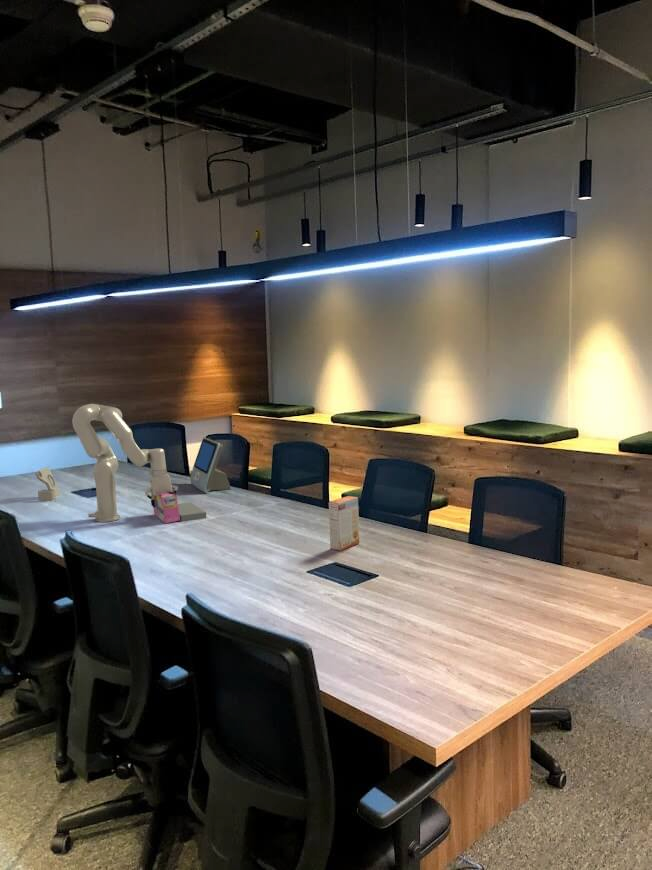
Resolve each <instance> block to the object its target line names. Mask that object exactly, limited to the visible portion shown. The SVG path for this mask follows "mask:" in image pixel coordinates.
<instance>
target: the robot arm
mask: <svg viewBox="0 0 652 870" xmlns="http://www.w3.org/2000/svg"><path fill="white" fill-rule="evenodd" d="M71 420H72V427H73V430H74V431H75V433H76V435H77V437H78V439H79V441H80V444H81V446H82V447H83V449H84V451H85V453H86V454H87V456H88V457H89V458H91V459H96V463H94V466H93V475H94V482H95V493H96V507H97V510H96V511H95V512H93V513H88V514H87V515H88V518H94V520H95V522H100V523H106V522H107V523H108V522H109V523H110V522H115V521H119V520H120V519H121V515H120V514H118V508H117V507H118V506H117V504H118V503H117V491H116V481H115V476H114V474H115V473H116V472H117V471H118V470H119V467H120V466H119V461H118V459H117V457H116V454H115V453H114V450H113V449H112V447H111V445H110V443H109V442H108V441H107V440H106V439H105V438H103V437H99V435H97V433H96V431H95V429H94V428H93V426H92V425H91V422H92V421H97V422H102V423H103V424H104V426H105V427H106V428H107V429H108V431H110V432H111V434H112V435H113V436H114V438H115V439H116V440H117V442H118V444H119V446H120V447H121V449H122V451H123V453H124V454H125V456H126V457H127V458H128V459H129V461H130V462H131V463H132V464H133V465H134V466H137V467H143V466H145V465H146V464H149V463H150V471H148V474H149V475H151V476H150V488H148V489H147V490H145V491H144V495H145V496H146V497H147V498H148V499H149V500H150V505H151V506H152V508H153V507H154V508H155V500H154V498H155V496H157V494H158V495H159V494H167V493H171V492H173V493H175V494H176V495H177V493H178V492H177V491H178V489H179V486H178V485H174V484H172V481H171V477H170V474H169V473H168V469H167V464H166V455H165V450H164V449H163V448H160V447H159V448H152V449H148V448H147V449H146V448H142V449H141V448H140V447H139V446H138V445H137V443H136V441H135V439H134V435H133V434H134V433H133V431H132V429H131V427H130V426H129V425H128V424H127V423H126V422H125V420H124V419H123V413H122V411H121V410H120V409H119V408H117V407H115V406H108V405H102V404H98V403H89V404H88V403H87V404H85V405H84V404H83V405H82V406H80V407H79V408H77V409H76V410H75V412H74V414H73V416H72V419H71ZM173 489H174V490H173ZM149 493H151V496H150V494H149ZM154 508H153V509H154Z"/></svg>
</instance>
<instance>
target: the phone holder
mask: <svg viewBox="0 0 652 870" xmlns="http://www.w3.org/2000/svg"><path fill="white" fill-rule="evenodd" d="M35 477H36V478H37V480H39V481H40V482H41V483H43V484H44V485H45V487H46V488H47V489H39V490H37V495H38V500H39V501H52V500H56V497H57V496H59V495H61V494H62V493H61V491H60V489H59V486H58V485H57V482H56V480H55V478H54V475H53V474H52V471H51V470H50V468H49V467H45V468H42V469H40V470H37V471H35Z"/></svg>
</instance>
